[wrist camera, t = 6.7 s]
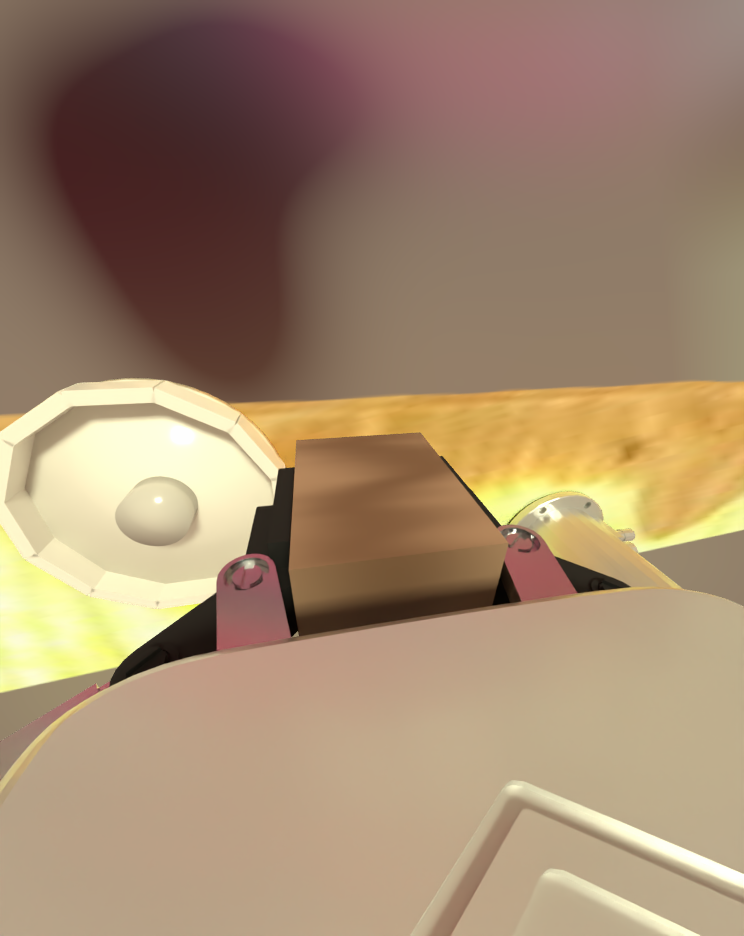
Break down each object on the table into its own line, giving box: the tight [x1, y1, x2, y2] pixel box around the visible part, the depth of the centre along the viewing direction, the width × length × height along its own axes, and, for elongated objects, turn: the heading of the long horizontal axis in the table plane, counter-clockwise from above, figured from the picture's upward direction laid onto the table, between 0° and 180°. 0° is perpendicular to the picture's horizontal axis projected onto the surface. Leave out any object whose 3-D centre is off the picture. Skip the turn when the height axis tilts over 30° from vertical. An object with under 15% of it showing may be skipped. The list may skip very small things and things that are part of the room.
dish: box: [0, 378, 285, 609], centre depth 27 cm, size 20×20×4 cm
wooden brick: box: [289, 433, 509, 636], centre depth 10 cm, size 4×4×6 cm
